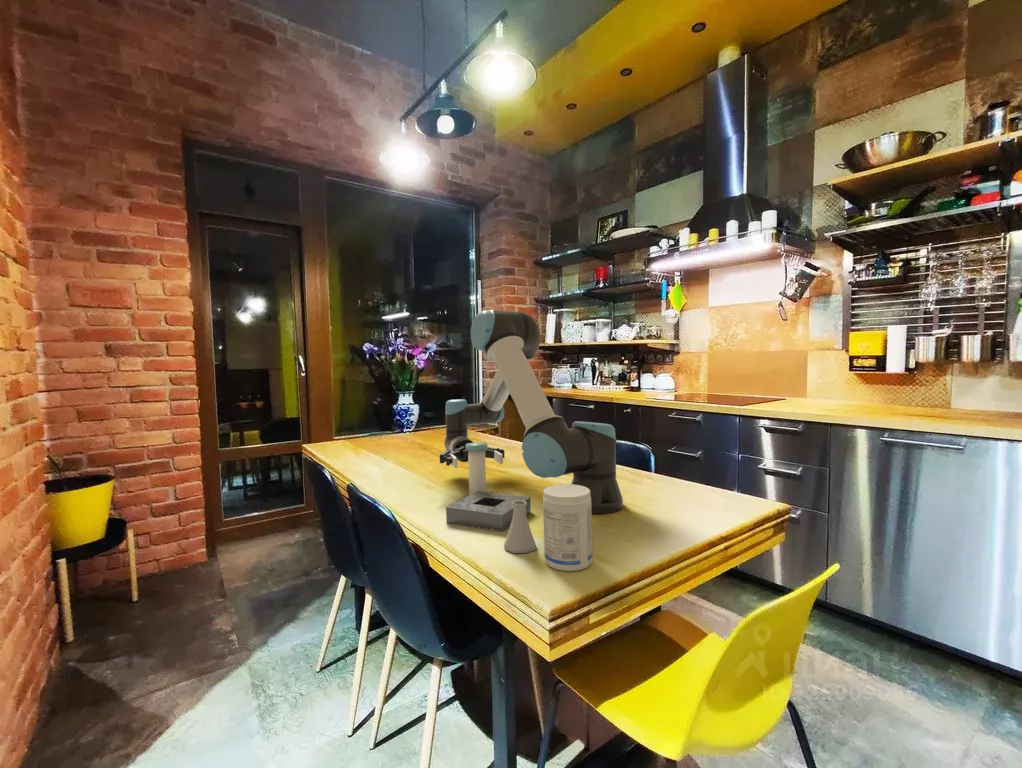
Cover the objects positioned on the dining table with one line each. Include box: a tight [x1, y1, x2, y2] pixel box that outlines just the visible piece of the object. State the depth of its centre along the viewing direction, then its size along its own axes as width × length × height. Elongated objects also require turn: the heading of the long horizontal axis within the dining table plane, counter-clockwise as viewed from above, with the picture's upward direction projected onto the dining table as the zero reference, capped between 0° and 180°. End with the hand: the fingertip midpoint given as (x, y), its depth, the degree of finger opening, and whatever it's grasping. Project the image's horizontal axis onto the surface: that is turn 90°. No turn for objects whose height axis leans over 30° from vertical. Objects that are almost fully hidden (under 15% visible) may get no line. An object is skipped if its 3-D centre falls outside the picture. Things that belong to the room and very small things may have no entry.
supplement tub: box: [542, 483, 593, 572], centre depth 95 cm, size 10×10×15 cm
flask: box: [503, 500, 538, 554], centre depth 103 cm, size 7×7×10 cm
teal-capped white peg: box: [466, 441, 489, 496], centre depth 141 cm, size 6×6×16 cm
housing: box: [445, 491, 532, 532], centre depth 123 cm, size 16×16×4 cm
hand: (479, 461), depth 138 cm, fingers open, 13 cm apart
